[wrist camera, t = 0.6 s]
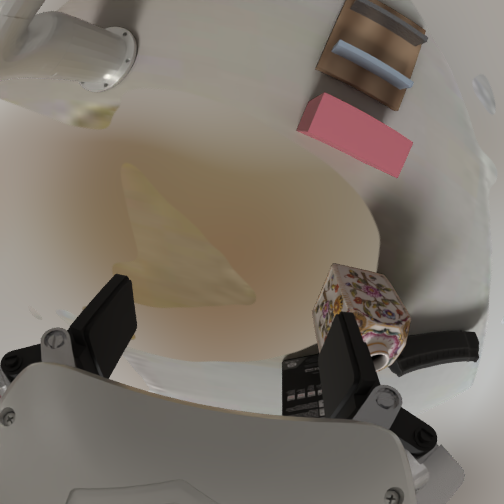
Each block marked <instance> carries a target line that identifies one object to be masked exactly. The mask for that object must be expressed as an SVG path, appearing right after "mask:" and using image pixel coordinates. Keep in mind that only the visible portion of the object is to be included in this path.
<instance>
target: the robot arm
mask: <svg viewBox="0 0 504 504" xmlns="http://www.w3.org/2000/svg"><path fill="white" fill-rule="evenodd" d="M44 1H45V0H0V81H3V80H8V79H17V78H38V79H58V80H70V81H78V82H79V84H80V85H81V86H82V87H83V88H84V89H86V90H88V91H92V92H102V91H105V90H108V89H110V88H112V87H114V86H115V85H117V84H118V83H119V82H120V81H121V80H123V79H124V77H125V76H126V75H127V74H128V72H129V71H130V69H131V67H132V65H133V63H134V61H135V57H136V52H137V45H136V40H135V37H134V36H133V34H132V33H131V32H129V31H128V30H126V29H124V28H122V27H109V28H106V29H103V28H101V27H99V26H96V25H94V24H91V23H89V22H86V21H84V20H81V19H79V18H76V17H74V16H71V15H68V14H65V13H63V12H58V11H50V12H43V13H40V14H37V15H35V14H36V13H37V11H38V10H39V9H40V7H41V6H42V4H43V3H44ZM136 329H137V321H136V314H135V306H134V298H133V290H132V282H131V280H129V278H128V276H124V275H120V274H115V275H114V276H113V277H112V278H111V280H110V281H109V282H108V283H107V284H106V285H105V286H104V287H103V288H102V289H101V291H100V292H99V293H98V294H97V295H96V296H95V297H94V299H93V300H92V301H91V302H90V303H89V304H88V305H87V307H86V308H85V309H84V310H83V311H82V313H81V314H80V315H79V316H78V317H77V318H76V320H75V321H74V322H73V323H72V324H71V326H70V328H69V329H68V330H65V329H63V328H52V329H50V330H48V331H46V332H45V333H44V334H43V336H42V338H41V344H37V345H33V346H30V347H26V348H22V349H18V350H14V351H11V352H8V353H7V354H5V355H4V357H3V358H2V360H1V365H0V504H446V502H447V501H448V500H449V499H450V498H451V497H452V496H453V494H454V493H455V492H456V491H457V489H458V488H459V487H460V486H461V484H462V483H463V481H464V477H465V474H464V470H463V469H462V467H461V466H460V465H459V464H458V463H457V461H456V460H455V459H454V458H453V457H452V456H451V455H450V454H449V453H448V451H447V450H446V449H445V448H444V447H443V446H442V445H440V446H438V445H437V435H436V432H435V430H434V429H433V428H432V427H431V426H429V425H427V424H426V423H425V422H423V421H421V420H420V419H418V418H417V417H415V416H414V415H412V414H411V413H409V412H408V411H406V410H405V409H403V408H402V407H401V406H402V397H401V395H400V393H399V392H398V391H397V390H396V389H394V388H393V387H391V386H388V385H380V382H379V379H378V376H377V373H376V370H375V366H374V363H373V360H372V357H371V354H370V352H369V349H368V346H367V344H366V342H364V341H363V338H362V335H361V332H360V330H359V327H358V324H357V321H356V318H355V316H354V314H353V313H352V312H343V311H341V312H340V313H339V314H336V315H335V317H334V320H333V322H332V325H331V327H330V330H329V332H328V335H327V337H326V339H325V342H324V344H323V346H322V349H321V351H320V353H319V356H318V366H319V373H320V381H321V388H322V396H323V405H324V413H325V418H308V417H293V416H279V415H269V414H259V413H251V412H244V411H237V410H230V409H224V408H218V407H213V406H207V405H202V404H197V403H192V402H188V401H183V400H179V399H175V398H171V397H167V396H163V395H159V394H155V393H152V392H148V391H145V390H141V389H138V388H135V387H131V386H128V385H125V384H122V383H119V382H116V381H113V380H110V379H109V377H110V375H111V374H112V372H113V370H114V368H115V366H116V364H117V363H118V361H119V359H120V357H121V356H122V354H123V352H124V350H125V348H126V347H127V345H128V343H129V341H130V340H131V338H132V336H133V335H134V333H135V331H136Z"/></svg>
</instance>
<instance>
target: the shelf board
mask: <svg viewBox="0 0 504 504" xmlns="http://www.w3.org/2000/svg"><path fill="white" fill-rule="evenodd" d="M354 1H355V0H346V1H345V3H344V5H343V7H342V10H341V12H340V14H339V16H338V18H337V21H336V23H335V25H334V28H333V30H332V32H331V34H330V37H329V39H328V41H327V43H326V46H325V48H324V50H323V53H322V55H321V57H320V59H319V62H318V64H317V66H316V70H318V71H321V72H323V73H325V74H327V75H330V76H332V77H334V78H336V79H338V80H340V81H342V82H344V83H346V84H348V85H350V86H352V87H354V88H356V89H358V90H359V91H361V92H363V93H365V94H367V95H368V96H370V97H372V98H374V99H375V100H377V101H379V102H381V103H382V104H384V105H385V106H387V107H389V108H390V109H392V110H394V111H398V110H399V107H400V104H401V102H402V99H403V97H404V94H405V91H406V89H407V88H406V89H401V90H400V89H398V88H397V87H395V86H393V85H392V84H390V83H389V82H387V81H385V80H384V79H382V78H380V77H379V76H377V75H375V74H374V73H372V72H370V71H368V70H366V69H365V68H363V67H361V66H359V65H357V64H355V63H353V62H351V61H349V60H347V59H345V58H343V57H341V56H339V55H337V54H335V53H333V52H331V51H332V49H333V47H334V45H335V44H336V43H337V42H338V41H339V40H342V41H344V42H346V43H348V44H350V45H352V46H354V47H356V48H358V49H360V50H362V51H364V52H366V53H368V54H369V55H371V56H373V57H375V58H377V59H378V60H380V61H382V62H383V63H385V64H387V65H388V66H390V67H392V68H393V69H395V70H396V71H398V72H399V73H401V74H402V75H404V76H405V77H407V78H408V79H410V78H411V75H412V72H413V69H414V66H415V63H416V60H417V57H418V54H419V51H420V48H421V45H422V44H420V45H418V46H416V47H415V46H413V45H412V44H410V43H409V42H407V41H406V40H404V39H403V38H401V37H400V36H398V35H396V34H395V33H393V32H392V31H390V30H388V29H387V28H385V27H383V26H381V25H380V24H378V23H376V22H374V21H372V20H371V19H369V18H367V17H365V16H363V15H361V14H359V13H357V12H355V11H353V10H351V9H350V7H351V5H352V4H353V2H354ZM368 1H370V2H372V3H374V4H376V5H378V6H380V7H381V8H383V9H385V10H387V11H388V12H390V13H392V14H393V15H395V16H397V17H398V18H400V19H402V20H403V21H405V22H406V23H408V24H409V25H411V26H412V27H414V28H415V29H417V30H418V31H420V32H421V33H422V34H424V35H425V32H426V31H425V30H424V29H423V28H421V27H420V26H418V25H417V24H415V23H414V22H412V21H411V20H409V19H408V18H406V17H405V16H403V15H402V14H400V13H398V12H397V11H395V10H393V9H392V8H390V7H388V6H387V5H385V4H383V3H381V2H379V1H378V0H368Z"/></svg>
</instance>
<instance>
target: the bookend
mask: <svg viewBox="0 0 504 504" xmlns="http://www.w3.org/2000/svg"><path fill="white" fill-rule="evenodd" d="M350 9H351V10H353V11H355V12H357V13H359V14H361V15H363V16H365V17H367V18H369V19H371V20H372V21H374V22H376V23H378V24H380V25H381V26H383V27H385V28H387V29H388V30H390V31H392V32H393V33H395V34H396V35H398V36H400V37H401V38H403V39H404V40H406V41H407V42H409V43H410V44H412V45H413V46H415V47H416V46H418V45H420V44H423V43H425V42H427V40H428V37H427V36H425V35H424V34H422V33H421V32H420V31H418V30H417V29H415V28H414V27H412V26H411V25H409V24H408V23H406V22H405V21H403V20H402V19H400V18H398V17H397V16H395V15H393V14H392V13H390V12H388V11H387V10H385V9H383V8H381V7H380V6H378V5H376V4H374V3H372V2H370V1H368V0H355V1H354V2H353V4H352V5H351V7H350Z"/></svg>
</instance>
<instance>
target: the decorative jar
mask: <svg viewBox="0 0 504 504" xmlns="http://www.w3.org/2000/svg"><path fill="white" fill-rule="evenodd" d="M341 311H343V312H352V313H353V314H354V316H355V318H356V321H357V324H358V327H359V330H360V332H361V335H362V338H363V341H364V342H366V344H367V346H368V349H369V352H370V354H371V357H372V360H373V363H374V366H375V370H376V372H377V371H380V370H382V369H384V368H386V367H388V366H390V365H392V364H393V363H394V361H395V360H396V359H397V357H398V356H399V355H400V354H401V352H402V350H403V348H404V347H405V345H406V341H407V336H408V332H409V328H410V322H411V317H410V315H409V313H408V311H407V309H406V308H405V306H404V305H403V303H402V301H401V299H400V298H399V296H398V294H397V293H396V291H395V290H394V288H393V286H392V285H391V283H390V282H389V281H388V279H387V278H386V276H385V275H383V274H379V273H375V272H371V271H367V270H362V269H358V268H353V267H349V266H345V265H340V264H336V263H333V264H332V265H331V268H330V270H329V273H328V275H327V278H326V280H325V283H324V285H323V287H322V290H321V292H320V294H319V297H318V299H317V302H316V304H315V306H314V309H313V311H312V315H313V321H314V327H315V333H316V338H317V344H318V349H319V353H320V351H321V349H322V346H323V344H324V342H325V339H326V337H327V335H328V332H329V330H330V327H331V325H332V322H333V320H334V317H335V315H336V314H339V313H340V312H341Z"/></svg>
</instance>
